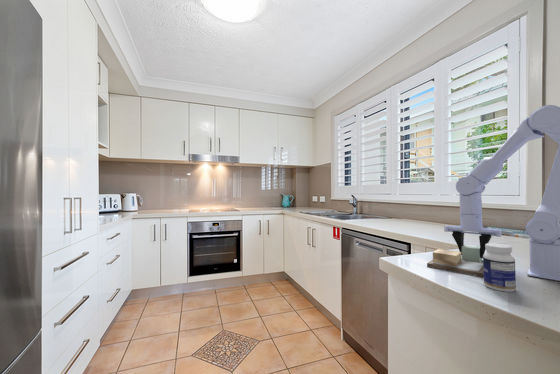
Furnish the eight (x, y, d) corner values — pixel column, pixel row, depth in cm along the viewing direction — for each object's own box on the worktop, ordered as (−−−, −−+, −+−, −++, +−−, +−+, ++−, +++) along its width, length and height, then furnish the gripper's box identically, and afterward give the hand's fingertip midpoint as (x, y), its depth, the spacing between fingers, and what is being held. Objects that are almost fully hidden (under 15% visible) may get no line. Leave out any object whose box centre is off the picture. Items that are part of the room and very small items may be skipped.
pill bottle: (483, 281, 62) (482, 241, 62) (515, 286, 59) (513, 244, 59) (483, 288, 58) (482, 245, 58) (517, 294, 54) (516, 248, 54)
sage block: (482, 260, 80) (481, 246, 80) (479, 263, 77) (479, 248, 77) (465, 257, 84) (464, 244, 84) (461, 260, 80) (461, 246, 81)
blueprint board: (494, 267, 73) (493, 253, 73) (487, 278, 64) (486, 262, 64) (439, 258, 83) (438, 246, 83) (427, 266, 75) (426, 252, 75)
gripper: (502, 214, 78) (503, 258, 78) (447, 212, 89) (448, 250, 88) (499, 216, 73) (500, 262, 73) (442, 213, 84) (443, 253, 84)
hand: (471, 256), depth 80 cm, fingers closed on sage block, 4 cm apart
